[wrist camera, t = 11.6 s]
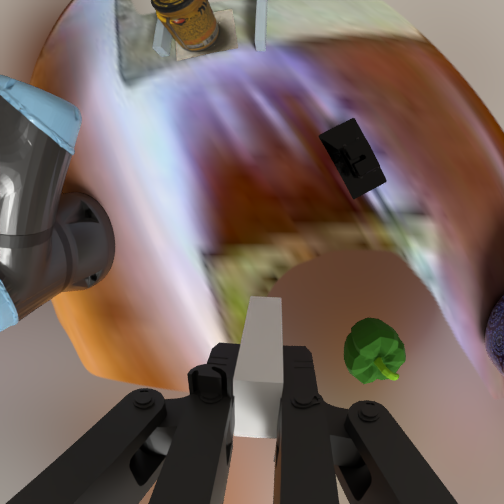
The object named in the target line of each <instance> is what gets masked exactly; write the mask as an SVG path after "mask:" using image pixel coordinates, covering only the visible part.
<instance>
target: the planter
mask: <svg viewBox="0 0 504 504" xmlns="http://www.w3.org/2000/svg"><path fill="white" fill-rule="evenodd" d="M485 346H486V351H487V354H488V356H489V358H490V360H491V361H492V362H493V364H494V365H495V367H496V368H497V369H498V371H499V372H500V373H501V374H502V375H503V376H504V295H503V296H502V297H501V298H500V300H499V301H498V302H497V304H496V305H495V307H494V308H493V310H492V312H491V314H490V317H489V319H488V322H487V326H486V332H485Z"/></svg>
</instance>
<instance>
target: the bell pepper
mask: <svg viewBox="0 0 504 504" xmlns="http://www.w3.org/2000/svg"><path fill="white" fill-rule="evenodd" d="M405 359H406V355H405V348H404V344H403V343H402V341H401V340H400V338H399V337H398V334H397V333H396V331H395V330H394V329H393V328H392V327H390V326H389V325H387V324H386V323H384V322H383V321H381V320H379V319H375V318H365V319H363V320H361V321H359V322H357V323H356V324H355V325H354V326H353V327H352V328H351V333H350V334H349V335H348V336H347V339H346V341H345V345H344V360H345V363H346V366H347V368H348V370H349V372H350V374H352V375H353V376H354V377H355V378H357V379H358V380H359V381H360V382H362V383H363V384H366V383H370V382H373V381H375V380H376V379H380V380H385V379H391V380H397V379H398V378H399V375H398V374H397V373H396V372H397V370H398V369H399V367H400V366H401V365H402V364H403V363H404V362H405Z"/></svg>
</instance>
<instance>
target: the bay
mask: <svg viewBox="0 0 504 504" xmlns="http://www.w3.org/2000/svg"><path fill="white" fill-rule="evenodd" d="M267 1H268V0H257V8H256V27H255V45H256V51H266V28H267ZM171 41H172V35H171V34H170V32H168V30H167V28H165V27H164V25H163V24H162V23H161V21H160V20H159V19H158V18H157V23H156V29H155V35H154V41H153V49H154V50H155V51H156V52H157V53H158V54H159V55H160V56H161V57H163V56H170V48H171Z"/></svg>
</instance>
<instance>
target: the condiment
mask: <svg viewBox="0 0 504 504" xmlns="http://www.w3.org/2000/svg"><path fill="white" fill-rule="evenodd" d="M151 4H152V6H153V7H154V8H155V10H156V14H157V17H158V19H159V20H160V21H161V23H162V24H163V25H164V27H165V28H167V30H168V32H170V34H171V35H172V37H173V38H174V39H175V41H176V57H177V61H179V60H183V59H188V58H192V57H197V56H200V55H205V54H210V53H213V52H219V51H225V50H229V49H236V48H238V44H237V37H236V31H235V24H234V18H233V11H232V9H229V10H223V11H217V12H213V11H212V9H211V7H210V4H209V2H208V0H151ZM217 22H218V23H217ZM219 22H220V23H219ZM214 45H215V46H214Z"/></svg>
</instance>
